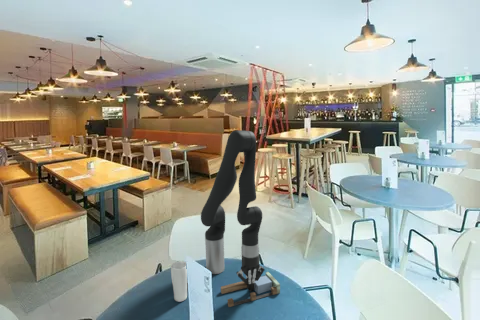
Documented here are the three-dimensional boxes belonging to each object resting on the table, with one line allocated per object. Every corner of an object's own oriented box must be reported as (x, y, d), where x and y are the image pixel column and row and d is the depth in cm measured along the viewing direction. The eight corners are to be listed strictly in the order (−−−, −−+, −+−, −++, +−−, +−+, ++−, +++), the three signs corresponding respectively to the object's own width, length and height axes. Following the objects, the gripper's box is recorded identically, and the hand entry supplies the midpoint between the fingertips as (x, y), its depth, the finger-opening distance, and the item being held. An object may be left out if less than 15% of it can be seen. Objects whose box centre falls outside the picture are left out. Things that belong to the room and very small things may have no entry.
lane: (220, 291, 116) (220, 283, 116) (268, 279, 125) (268, 271, 124) (228, 307, 106) (228, 298, 106) (280, 292, 115) (280, 284, 114)
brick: (252, 287, 120) (252, 279, 119) (265, 283, 122) (265, 275, 122) (257, 294, 115) (257, 285, 114) (271, 290, 117) (271, 281, 117)
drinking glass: (172, 304, 108) (170, 270, 106) (172, 294, 115) (170, 262, 113) (189, 301, 110) (188, 267, 108) (188, 292, 117) (186, 260, 115)
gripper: (260, 246, 119) (260, 282, 121) (232, 251, 114) (233, 289, 117) (268, 253, 112) (268, 291, 115) (239, 259, 107) (239, 299, 110)
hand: (250, 290), depth 116 cm, fingers closed
